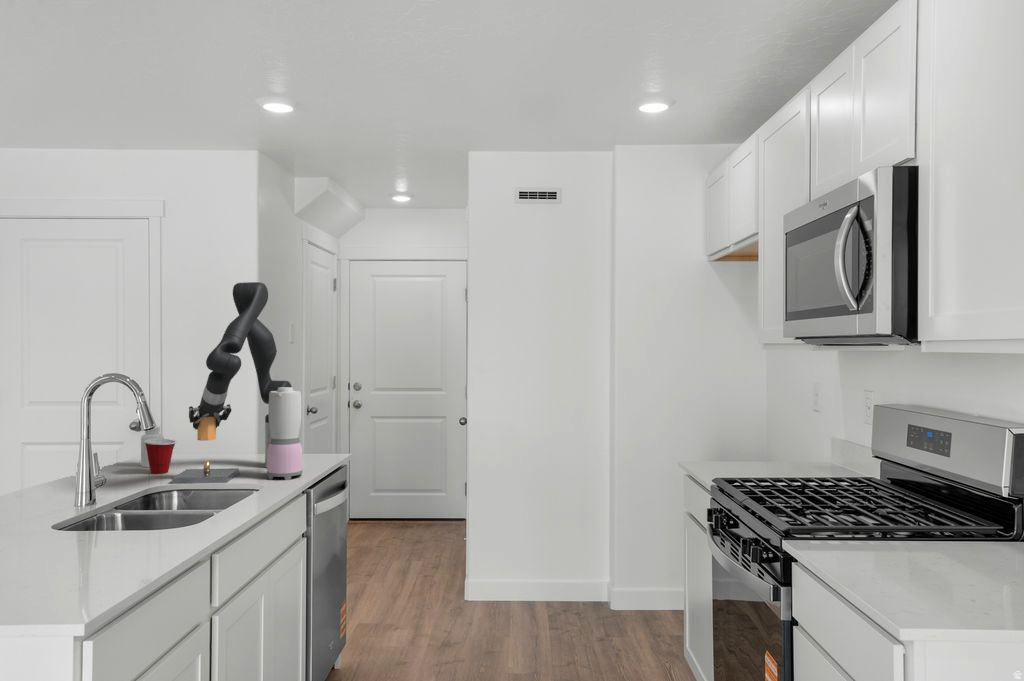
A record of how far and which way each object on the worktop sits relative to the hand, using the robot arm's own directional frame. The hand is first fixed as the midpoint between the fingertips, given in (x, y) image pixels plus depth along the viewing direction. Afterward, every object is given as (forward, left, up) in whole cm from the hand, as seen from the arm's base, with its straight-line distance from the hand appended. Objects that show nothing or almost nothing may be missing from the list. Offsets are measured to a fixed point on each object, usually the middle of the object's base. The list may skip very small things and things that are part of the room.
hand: (205, 426), depth 253 cm
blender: (0, +28, -18) cm, 34 cm away
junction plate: (+2, +1, -18) cm, 18 cm away
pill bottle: (-26, -27, -18) cm, 42 cm away
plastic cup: (-11, -19, -18) cm, 29 cm away
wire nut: (+1, +1, -4) cm, 5 cm away
